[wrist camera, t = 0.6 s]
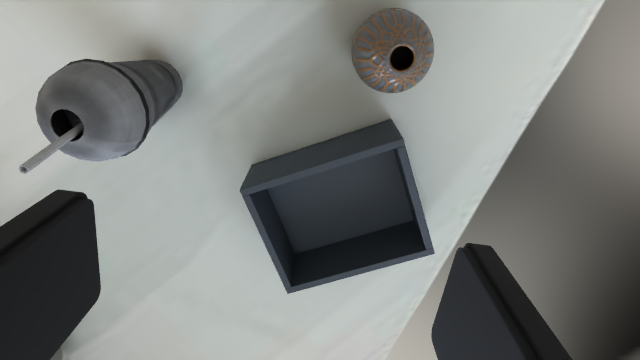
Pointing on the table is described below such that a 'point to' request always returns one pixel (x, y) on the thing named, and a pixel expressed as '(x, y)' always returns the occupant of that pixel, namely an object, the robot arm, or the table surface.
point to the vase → (392, 50)
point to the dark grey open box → (338, 207)
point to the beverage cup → (103, 107)
